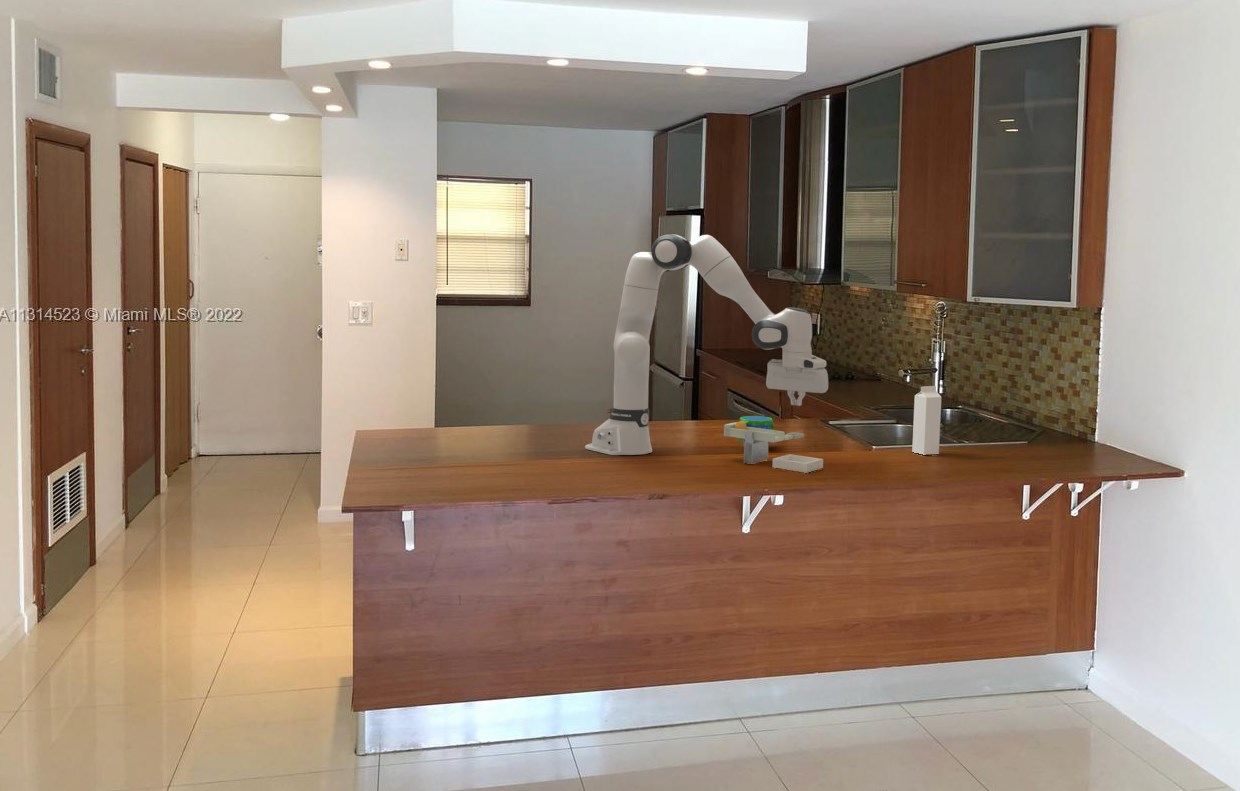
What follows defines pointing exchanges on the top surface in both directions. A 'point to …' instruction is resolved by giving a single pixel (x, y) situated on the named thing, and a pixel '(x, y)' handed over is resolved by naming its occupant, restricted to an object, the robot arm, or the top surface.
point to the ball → (740, 425)
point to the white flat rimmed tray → (798, 463)
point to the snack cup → (757, 423)
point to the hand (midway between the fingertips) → (796, 405)
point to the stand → (754, 449)
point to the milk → (926, 421)
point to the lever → (760, 433)
